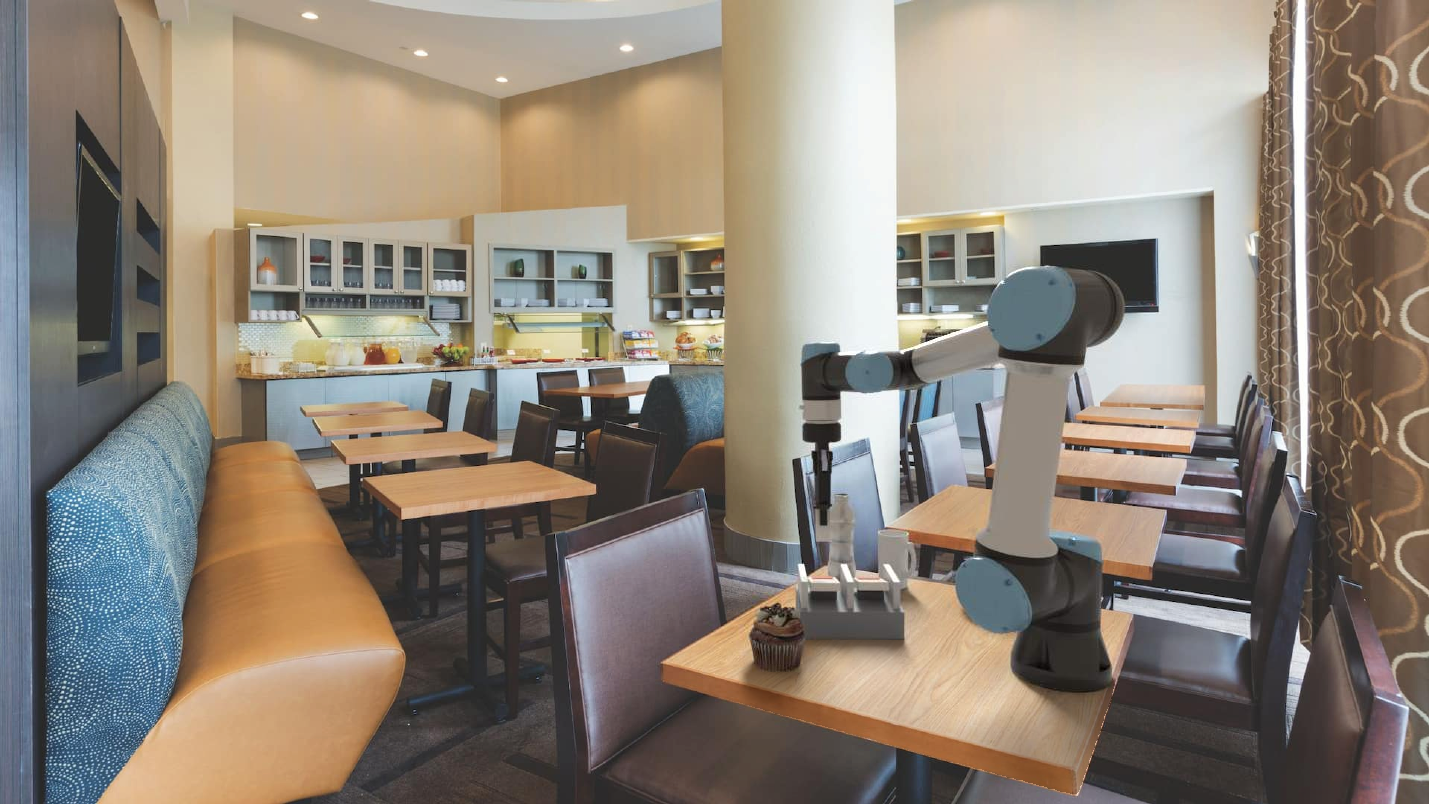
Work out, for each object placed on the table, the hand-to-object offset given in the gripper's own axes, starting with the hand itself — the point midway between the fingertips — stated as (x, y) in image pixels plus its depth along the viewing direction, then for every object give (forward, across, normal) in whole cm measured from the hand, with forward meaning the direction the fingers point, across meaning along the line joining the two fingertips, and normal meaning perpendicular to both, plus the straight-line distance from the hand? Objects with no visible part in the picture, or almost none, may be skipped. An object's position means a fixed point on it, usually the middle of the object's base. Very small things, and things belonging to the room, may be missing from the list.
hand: (823, 540), depth 152 cm
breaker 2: (+9, +3, +9) cm, 13 cm away
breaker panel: (+16, +3, +4) cm, 16 cm away
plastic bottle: (+15, -25, +6) cm, 30 cm away
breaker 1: (+9, +3, 0) cm, 9 cm away
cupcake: (+16, +22, -10) cm, 29 cm away
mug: (+16, -20, +18) cm, 31 cm away
